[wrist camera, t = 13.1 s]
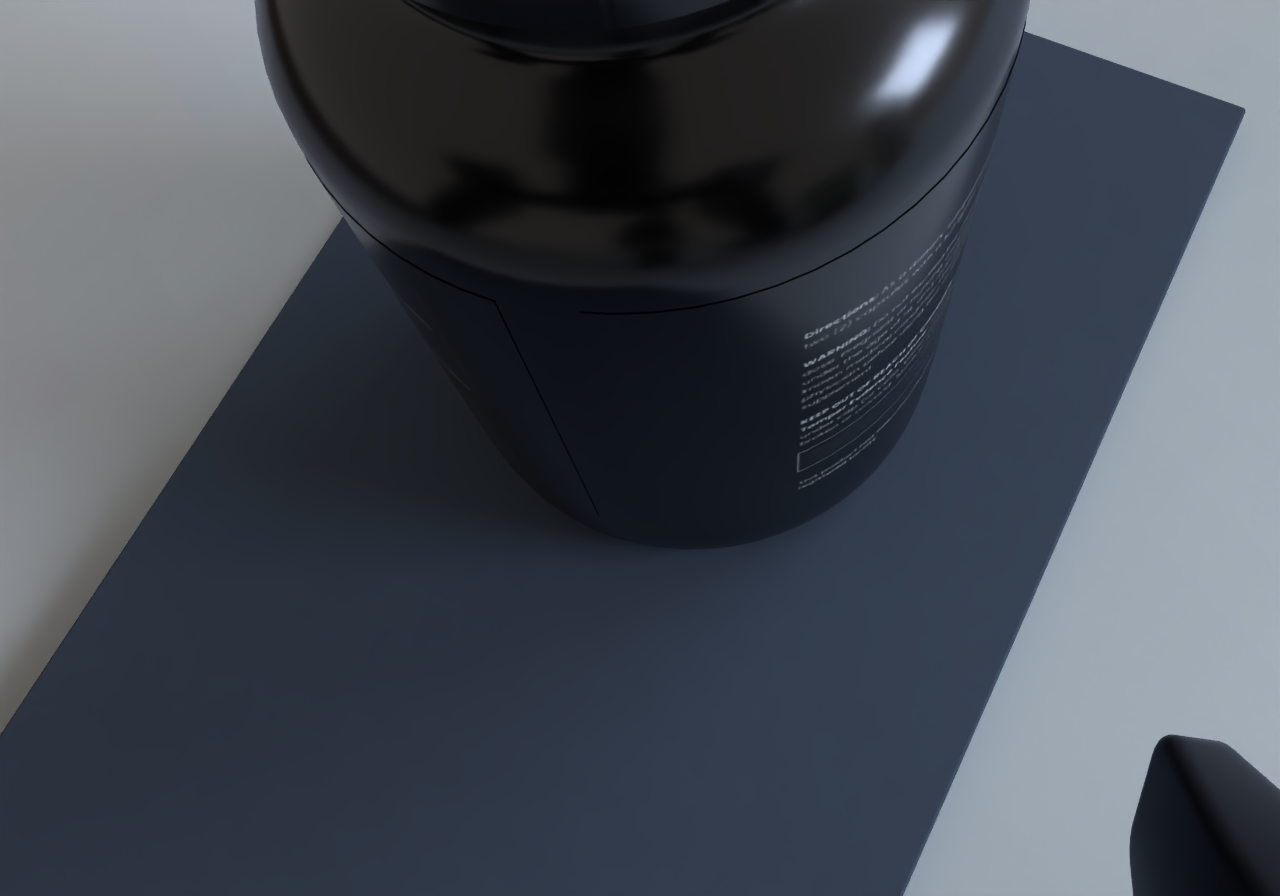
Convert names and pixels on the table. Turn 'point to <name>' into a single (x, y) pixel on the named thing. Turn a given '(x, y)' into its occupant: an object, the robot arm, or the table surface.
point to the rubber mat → (596, 593)
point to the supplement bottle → (662, 227)
